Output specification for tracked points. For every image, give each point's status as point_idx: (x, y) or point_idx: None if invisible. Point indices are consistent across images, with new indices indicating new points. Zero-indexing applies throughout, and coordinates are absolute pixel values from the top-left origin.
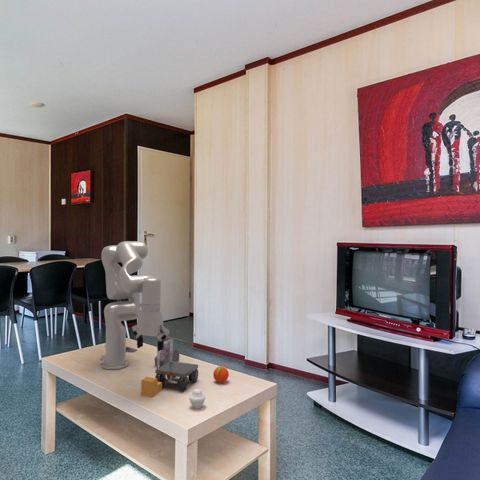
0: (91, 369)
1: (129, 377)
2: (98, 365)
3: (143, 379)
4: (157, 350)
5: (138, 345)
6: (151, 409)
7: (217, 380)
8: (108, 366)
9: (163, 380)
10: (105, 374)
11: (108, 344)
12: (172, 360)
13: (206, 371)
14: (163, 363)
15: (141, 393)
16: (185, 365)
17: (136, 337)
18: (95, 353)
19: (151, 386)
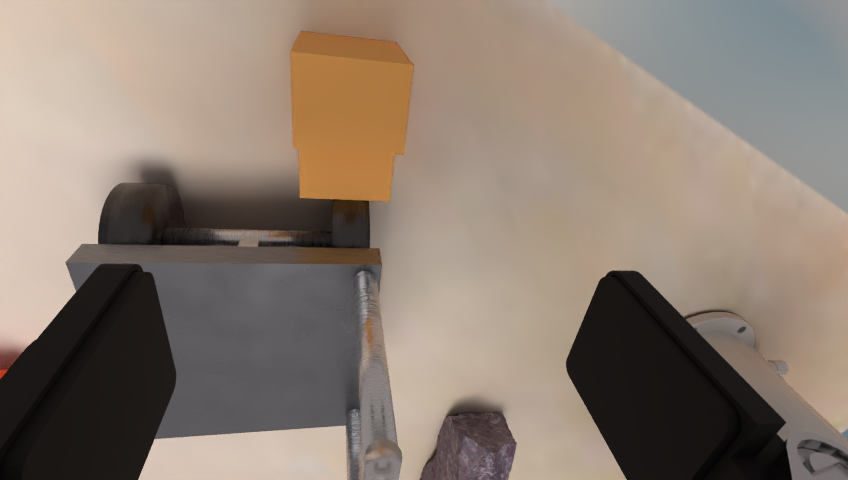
0: (791, 289)
1: (578, 269)
2: (764, 334)
3: (401, 86)
4: (383, 411)
5: (639, 302)
6: None
7: (5, 371)
8: (721, 327)
9: (315, 234)
10: (713, 262)
11: (830, 432)
12: (434, 469)
13: (216, 449)
14: (456, 429)
15: (395, 45)
16: (210, 402)
17: (827, 453)
18: None
19: (298, 44)
